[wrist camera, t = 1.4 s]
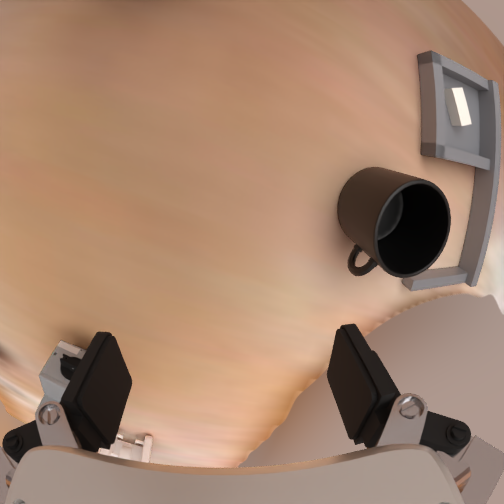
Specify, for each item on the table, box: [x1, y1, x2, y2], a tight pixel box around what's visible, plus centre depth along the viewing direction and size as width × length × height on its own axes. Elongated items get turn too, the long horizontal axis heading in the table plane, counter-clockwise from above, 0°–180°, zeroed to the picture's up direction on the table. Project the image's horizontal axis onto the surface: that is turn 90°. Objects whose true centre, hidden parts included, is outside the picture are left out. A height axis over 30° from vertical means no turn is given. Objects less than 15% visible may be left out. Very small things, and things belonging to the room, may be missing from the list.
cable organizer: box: [99, 433, 153, 463], centre depth 41 cm, size 15×11×12 cm
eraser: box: [444, 87, 472, 126], centre depth 23 cm, size 5×2×2 cm, turn 21°
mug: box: [338, 167, 451, 278], centre depth 26 cm, size 9×12×9 cm
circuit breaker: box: [35, 340, 86, 414], centre depth 29 cm, size 8×14×15 cm, turn 159°
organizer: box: [402, 51, 501, 291], centre depth 26 cm, size 31×14×4 cm, turn 1°
